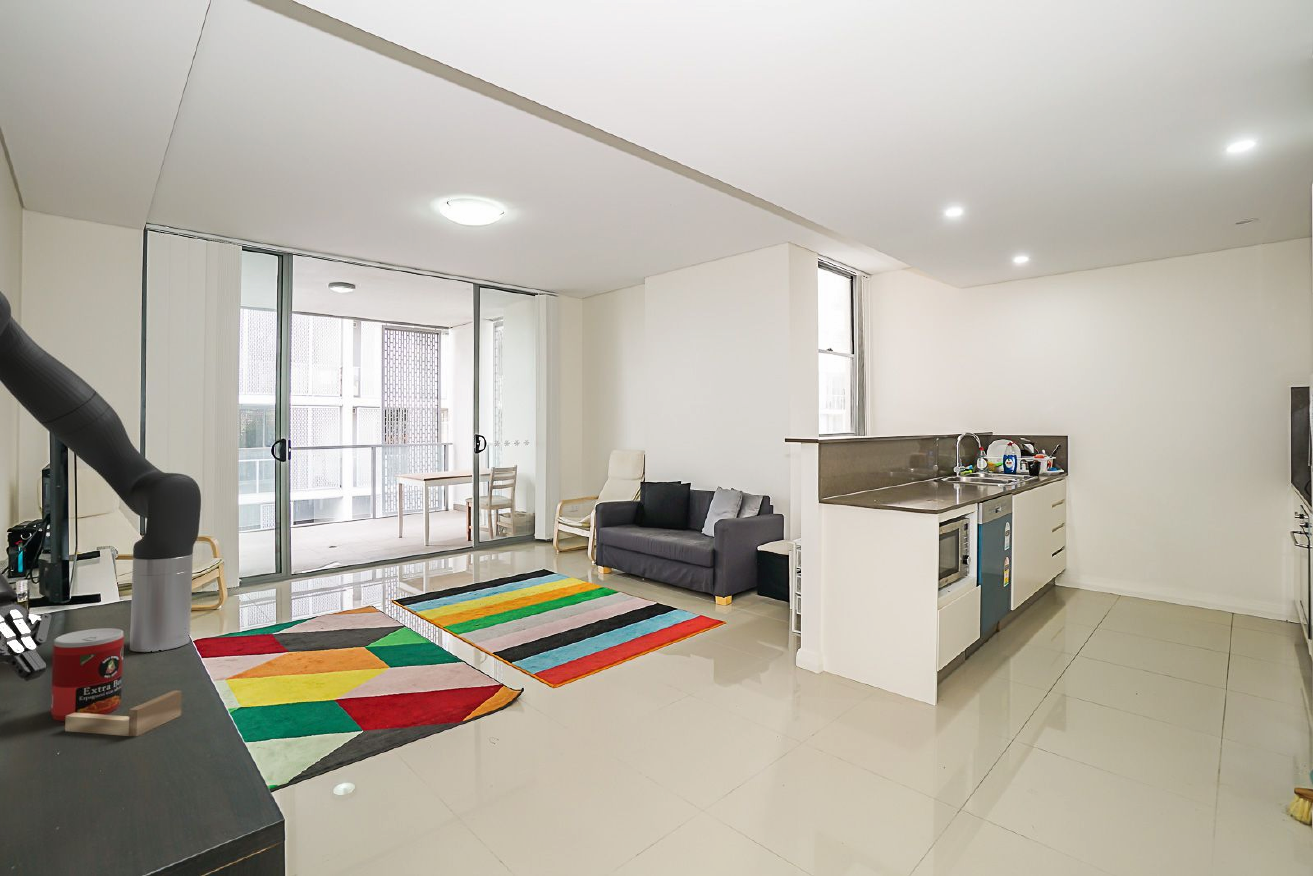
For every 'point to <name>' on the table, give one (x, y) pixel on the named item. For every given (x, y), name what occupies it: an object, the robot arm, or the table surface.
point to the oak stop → (129, 718)
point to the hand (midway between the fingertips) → (37, 675)
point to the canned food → (87, 672)
